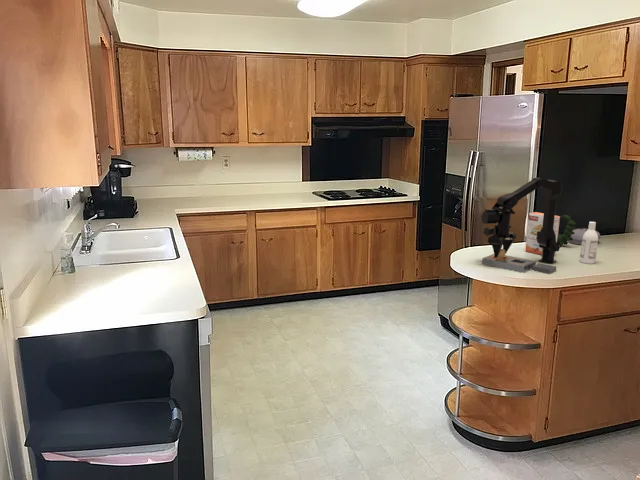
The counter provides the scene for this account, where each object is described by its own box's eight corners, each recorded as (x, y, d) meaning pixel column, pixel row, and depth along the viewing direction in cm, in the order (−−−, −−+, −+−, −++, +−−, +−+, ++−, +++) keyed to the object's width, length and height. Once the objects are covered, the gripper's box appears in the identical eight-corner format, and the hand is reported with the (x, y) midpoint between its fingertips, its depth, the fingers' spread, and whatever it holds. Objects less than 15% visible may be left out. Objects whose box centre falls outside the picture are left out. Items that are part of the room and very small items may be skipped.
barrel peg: (497, 262, 252) (498, 248, 250) (505, 264, 249) (506, 249, 248) (493, 263, 249) (495, 249, 248) (501, 265, 246) (503, 251, 245)
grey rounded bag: (576, 238, 312) (562, 242, 299) (578, 224, 311) (564, 228, 297) (603, 242, 302) (589, 247, 288) (605, 228, 300) (591, 233, 287)
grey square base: (538, 267, 245) (539, 263, 244) (556, 270, 239) (556, 266, 239) (531, 270, 239) (532, 266, 239) (549, 274, 234) (550, 269, 233)
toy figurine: (573, 250, 289) (535, 237, 309) (581, 217, 283) (541, 206, 303) (563, 251, 284) (525, 238, 304) (570, 218, 278) (531, 207, 298)
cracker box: (524, 251, 275) (528, 212, 271) (531, 250, 279) (535, 211, 274) (548, 257, 264) (553, 216, 260) (555, 255, 267) (560, 215, 263)
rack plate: (495, 259, 258) (495, 252, 257) (535, 267, 245) (536, 260, 244) (481, 264, 248) (482, 257, 247) (523, 272, 235) (524, 266, 234)
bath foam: (596, 262, 256) (602, 222, 252) (592, 264, 251) (598, 224, 247) (581, 259, 261) (587, 220, 256) (577, 262, 256) (582, 222, 252)
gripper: (495, 218, 257) (493, 249, 260) (478, 223, 244) (475, 255, 247) (518, 221, 250) (514, 253, 253) (501, 226, 236) (497, 259, 240)
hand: (500, 255), depth 248 cm, fingers open, 9 cm apart
